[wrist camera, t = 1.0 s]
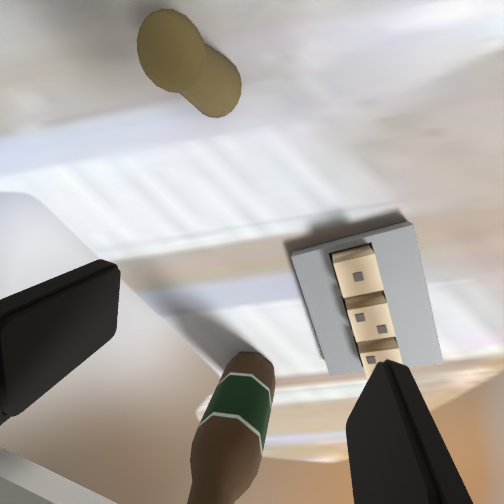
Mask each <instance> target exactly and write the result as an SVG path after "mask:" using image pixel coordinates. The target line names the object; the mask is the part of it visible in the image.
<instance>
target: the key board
mask: <svg viewBox="0 0 504 504" xmlns="http://www.w3.org/2000/svg"><path fill="white" fill-rule="evenodd" d="M367 243H370V246H371V249H372V250H373V252H374V253H375V257H376V261H377V265H378V268H379V272H380V276H381V280H382V284H383V288H384V290H382V293H383V296H384V298H385V300H386V302H387V304H388V308H389V312H390V316H391V320H392V324H393V328H394V332H395V335H396V337H394V339H395V341H396V343H397V346H398V348H399V351H400V355H401V359H402V363H403V364H404V365H406V366H408V367H413V366H423V365H432V364H441V363H443V359H442V355H441V350H440V345H439V341H438V336H437V331H436V326H435V322H434V317H433V312H432V308H431V303H430V298H429V294H428V289H427V284H426V280H425V275H424V270H423V266H422V261H421V256H420V252H419V247H418V242H417V238H416V233H415V228H414V225H413V224H412V223H410V222H408V221H406V222H402V223H398V224H394V225H391V226H387V227H383V228H379V229H376V230H372V231H368V232H365V233H361V234H357V235H353V236H350V237H346V238H342V239H338V240H335V241H331V242H327V243H324V244H320V245H316V246H312V247H309V248H305V249H301V250H297V251H294V252H292V255H291V259H292V262H293V265H294V268H295V271H296V274H297V277H298V280H299V283H300V286H301V289H302V292H303V295H304V298H305V301H306V304H307V307H308V310H309V313H310V316H311V319H312V323H313V326H314V329H315V332H316V335H317V338H318V341H319V344H320V347H321V350H322V353H323V356H324V359H325V362H326V365H327V368H328V371H329V374H330V375H339V374H348V373H358V372H365V370H364V367H363V363H362V360H361V357H360V356H359V352H358V349H357V346H356V342H355V339H354V333H353V329H352V326H351V322H350V321H349V318H348V315H347V311H346V308H345V305H344V301H343V298H342V296H343V295H342V292H341V288H340V285H339V282H338V281H337V277H336V274H335V271H334V267H333V264H332V260H331V257H330V254H329V253H331V252H335V251H339V250H343V249H347V248H351V247H355V246H359V245H363V244H367Z"/></svg>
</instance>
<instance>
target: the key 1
mask: <svg viewBox="0 0 504 504" xmlns="http://www.w3.org/2000/svg"><path fill="white" fill-rule="evenodd" d="M332 259H333V264H334V268H335V271H336V275H337V278H338V281H339V285H340V288H341V292H342V295H343V298H346V297H352V296H357V295H362V294H367V293H372V292H377V291H382V290H384V288H383V284H382V280H381V276H380V272H379V268H378V265H377V261H376V257H375V253H374V252H373V250H372V249H371V247H370V246H369V244H365V245H361V246H358V247H354V248H350V249H346V250H342V251H338V252H334V253H332Z"/></svg>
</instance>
